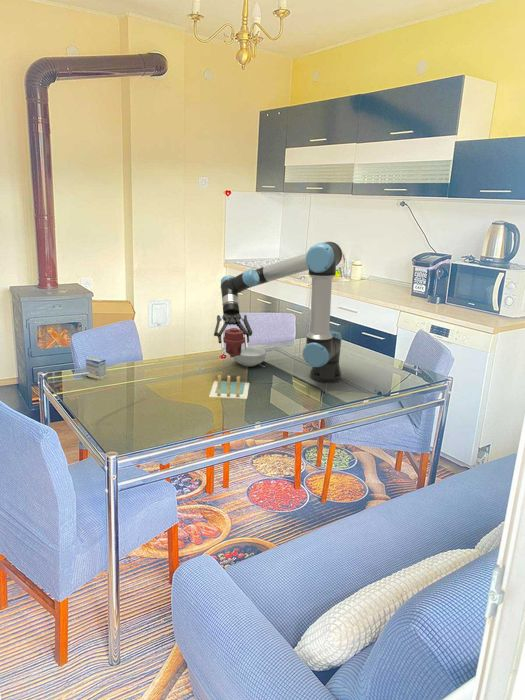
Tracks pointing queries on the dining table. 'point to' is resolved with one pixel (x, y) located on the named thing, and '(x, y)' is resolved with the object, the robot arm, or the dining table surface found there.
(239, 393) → the pin
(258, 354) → the cereal bowl
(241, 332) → the mechanical component
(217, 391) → the pin
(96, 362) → the medicine box
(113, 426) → the dining table surface
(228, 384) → the pin
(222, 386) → the header board
